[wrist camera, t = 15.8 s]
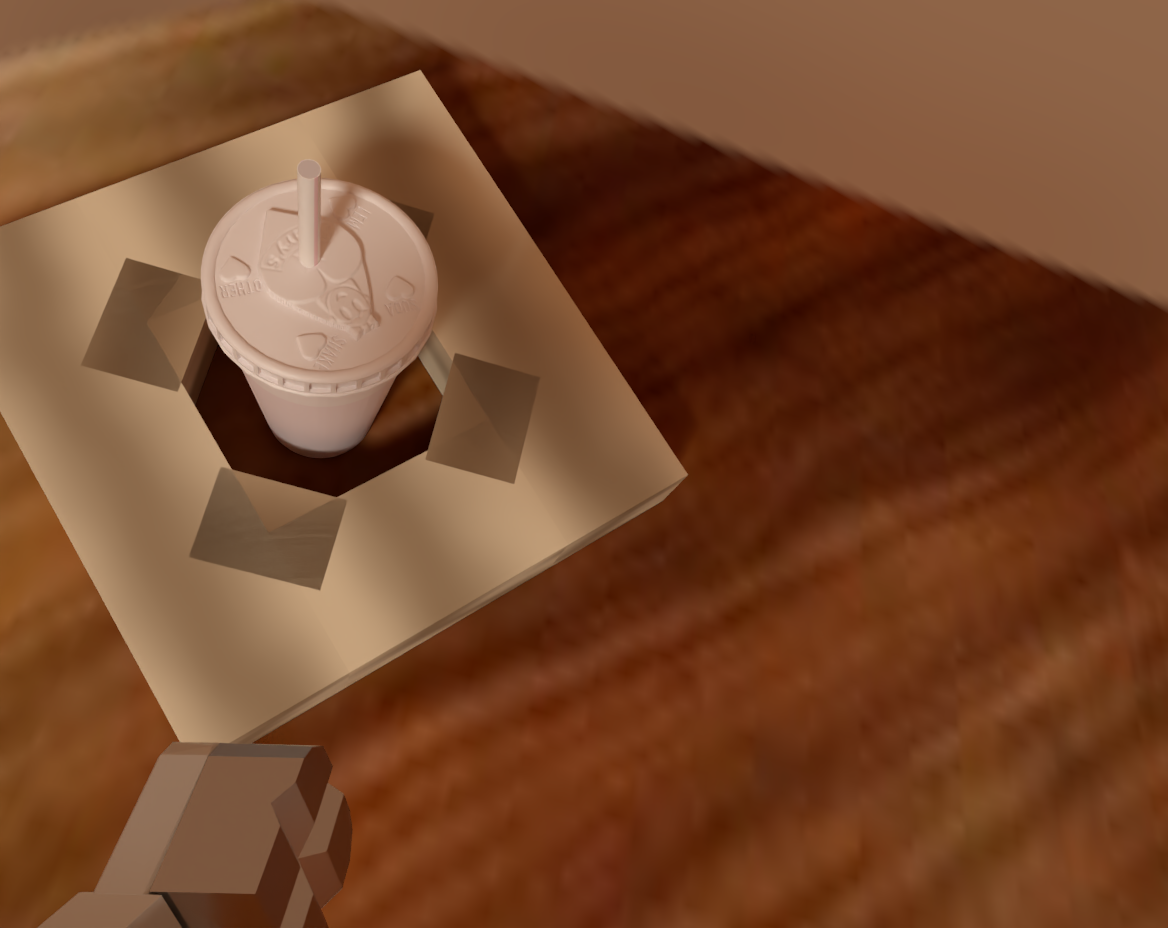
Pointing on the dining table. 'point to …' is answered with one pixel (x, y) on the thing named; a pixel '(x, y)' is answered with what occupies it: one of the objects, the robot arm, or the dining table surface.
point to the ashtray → (284, 512)
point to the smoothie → (319, 304)
